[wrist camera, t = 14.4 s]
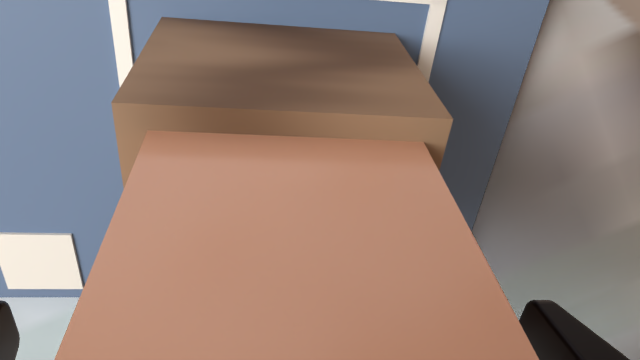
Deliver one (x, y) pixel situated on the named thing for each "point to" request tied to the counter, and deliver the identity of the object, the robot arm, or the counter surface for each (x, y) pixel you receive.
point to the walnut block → (276, 86)
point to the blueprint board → (123, 50)
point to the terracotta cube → (289, 258)
